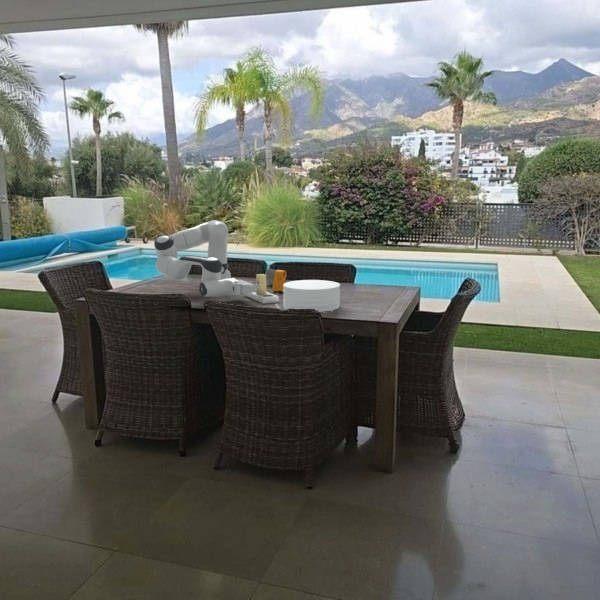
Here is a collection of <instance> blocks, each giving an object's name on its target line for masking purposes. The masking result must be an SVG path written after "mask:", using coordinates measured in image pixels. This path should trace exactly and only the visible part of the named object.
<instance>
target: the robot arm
mask: <svg viewBox="0 0 600 600" xmlns="http://www.w3.org/2000/svg"><path fill="white" fill-rule="evenodd" d="M228 240H229V227H228V226H227V224H226V223H225V222H222V221H220V220H218V219H217V220H215V219H213V220H210V221H207V222H204V223H200V224H198V225H196V226H193V227H190V228H187V229H183V230H180V231H178V232H175V233H172V234H170V235H168V234H167V235H166V234H163V235H159V236H158V237H156V238H155V240H154V249H155V254H156V258H157V259H156V262H155V268H156V270H157V271H158V272H159V273H161V274H162V275H164V276H165V277H168V278H170V279H174V280H179V281H180V280H182V279H184V278H186V277H187V276H188V274H189V273H190V271H191V268H192V266H193V265H194V266H200V267H201V269H202V271H201V272H202V273H201V282H200V283H199V285H198V288H199V293H200V295H201V296H202V297H207V298H216V297H217V298H218V297H222V296H226V297H229V296H241V294H242V295H243V294H244V295H245V293H251V292H254V291H255V290H256V289H257V288H260V284H256V283H255V284H254V281H246V280H243V279H236V278H235V277H231V276H232V275H231V274H232V273H231V272H230V270H229V263H228ZM207 243H208V247H207V256H200V255H188V254H186V255H181V256H180V257H179V255H178V252H182V251H186V250H190V249H193V248H197V247H199V246H202V245H204V244H207Z"/></svg>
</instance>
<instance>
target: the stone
mask: <svg viewBox="0 0 600 600" xmlns="http://www.w3.org/2000/svg"><path fill="white" fill-rule="evenodd" d="M276 270H277V269H272V268H266V269H265V275H266V284H268V285H270V286H273V281H274V275H275V271H276ZM284 282H285V283H286V279H285V280H284Z"/></svg>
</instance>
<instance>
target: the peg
mask: <svg viewBox="0 0 600 600" xmlns="http://www.w3.org/2000/svg"><path fill="white" fill-rule="evenodd" d="M255 276H256V277H255V280H256V281H255V282H256V283H255V285H256V284H260V288H257V289H255V290H256V293H257V294H258V295H261V294H266V292H267V282H266V273H265V274H264V273H259V274H258V273H257V274H255Z"/></svg>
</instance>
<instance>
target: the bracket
mask: <svg viewBox="0 0 600 600" xmlns="http://www.w3.org/2000/svg"><path fill="white" fill-rule="evenodd" d="M275 270H276V271H275V275H274V281H273V285H272V290H271V291H273V292H276V293H277V292H279V291H281V292H279V293H283V289H284V288H283V284H284V283H286V281H285V282H284V280H285V279H286V278H287V271H286V270H282V269H275Z"/></svg>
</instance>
